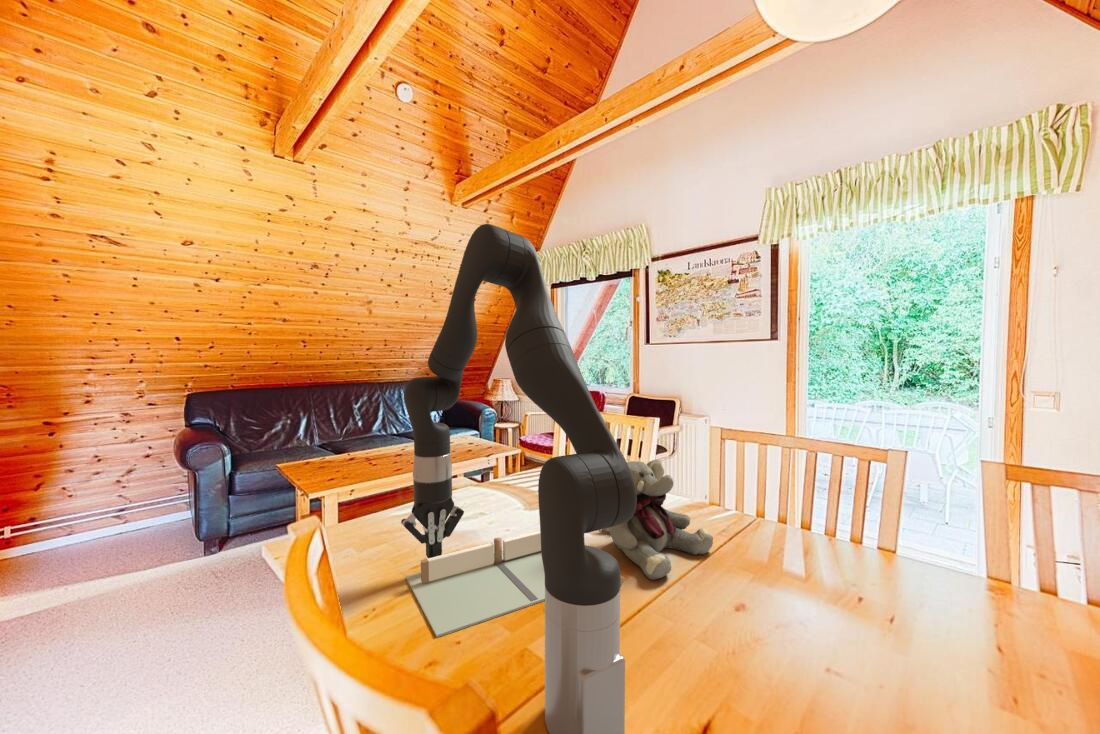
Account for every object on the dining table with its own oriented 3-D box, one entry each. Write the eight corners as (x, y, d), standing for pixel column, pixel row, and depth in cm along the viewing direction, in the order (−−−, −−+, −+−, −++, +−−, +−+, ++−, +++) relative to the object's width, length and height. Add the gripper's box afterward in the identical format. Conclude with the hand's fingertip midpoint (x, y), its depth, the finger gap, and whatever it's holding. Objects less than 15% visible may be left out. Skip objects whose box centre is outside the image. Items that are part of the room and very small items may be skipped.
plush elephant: (725, 556, 98) (726, 463, 97) (655, 587, 85) (656, 481, 84) (636, 517, 120) (637, 441, 119) (571, 537, 107) (571, 453, 106)
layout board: (602, 580, 87) (602, 578, 87) (436, 637, 71) (436, 634, 71) (548, 540, 105) (548, 538, 105) (405, 578, 89) (405, 575, 89)
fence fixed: (559, 549, 101) (559, 525, 101) (496, 567, 93) (495, 541, 93) (555, 546, 102) (555, 523, 102) (493, 564, 94) (492, 538, 94)
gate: (491, 561, 94) (491, 542, 94) (493, 563, 93) (493, 544, 93) (421, 580, 86) (420, 560, 86) (422, 583, 85) (422, 562, 85)
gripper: (406, 486, 83) (407, 577, 83) (471, 474, 90) (472, 557, 91) (393, 476, 89) (395, 561, 90) (455, 466, 96) (456, 544, 97)
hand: (434, 559), depth 90 cm, fingers closed
